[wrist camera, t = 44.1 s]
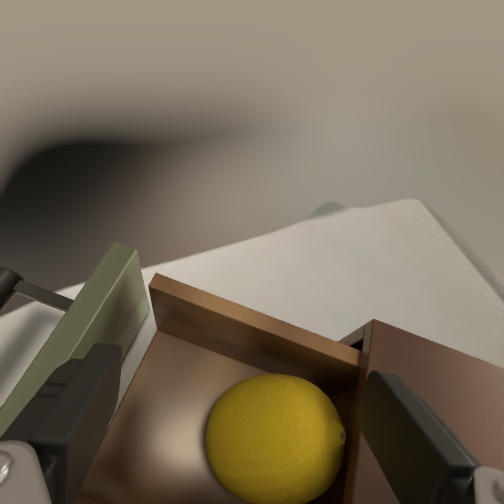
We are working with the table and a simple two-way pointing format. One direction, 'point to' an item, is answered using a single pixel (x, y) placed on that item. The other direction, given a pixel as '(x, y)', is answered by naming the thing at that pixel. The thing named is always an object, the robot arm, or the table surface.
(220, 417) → the lemon
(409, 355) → the cabinet
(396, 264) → the table surface
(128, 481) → the drawer
